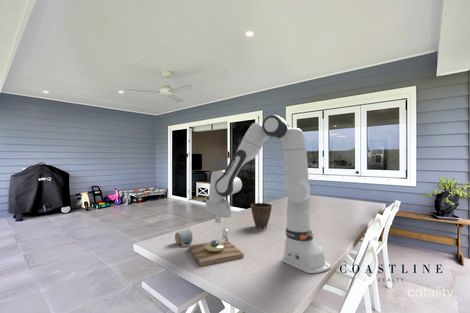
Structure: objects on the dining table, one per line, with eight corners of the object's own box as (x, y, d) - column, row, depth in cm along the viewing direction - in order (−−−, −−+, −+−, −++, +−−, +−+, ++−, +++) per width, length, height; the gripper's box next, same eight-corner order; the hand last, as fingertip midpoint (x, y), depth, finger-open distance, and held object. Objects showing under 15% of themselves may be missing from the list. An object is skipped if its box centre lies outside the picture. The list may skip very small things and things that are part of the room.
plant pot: (271, 224, 169) (271, 203, 169) (272, 230, 154) (272, 207, 154) (251, 224, 170) (251, 202, 171) (250, 230, 156) (250, 206, 156)
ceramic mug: (174, 243, 131) (174, 229, 131) (186, 239, 136) (186, 227, 137) (182, 248, 123) (182, 234, 123) (195, 245, 128) (195, 231, 128)
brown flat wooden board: (243, 257, 111) (243, 252, 111) (200, 266, 102) (200, 261, 102) (226, 243, 131) (226, 239, 131) (188, 249, 122) (188, 245, 122)
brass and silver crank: (234, 244, 122) (234, 230, 122) (216, 254, 110) (216, 238, 110) (219, 240, 128) (219, 227, 128) (200, 249, 115) (200, 234, 115)
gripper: (233, 200, 123) (233, 225, 123) (212, 195, 139) (212, 217, 139) (224, 201, 119) (224, 227, 119) (203, 196, 135) (203, 219, 135)
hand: (217, 222), depth 129 cm, fingers closed
